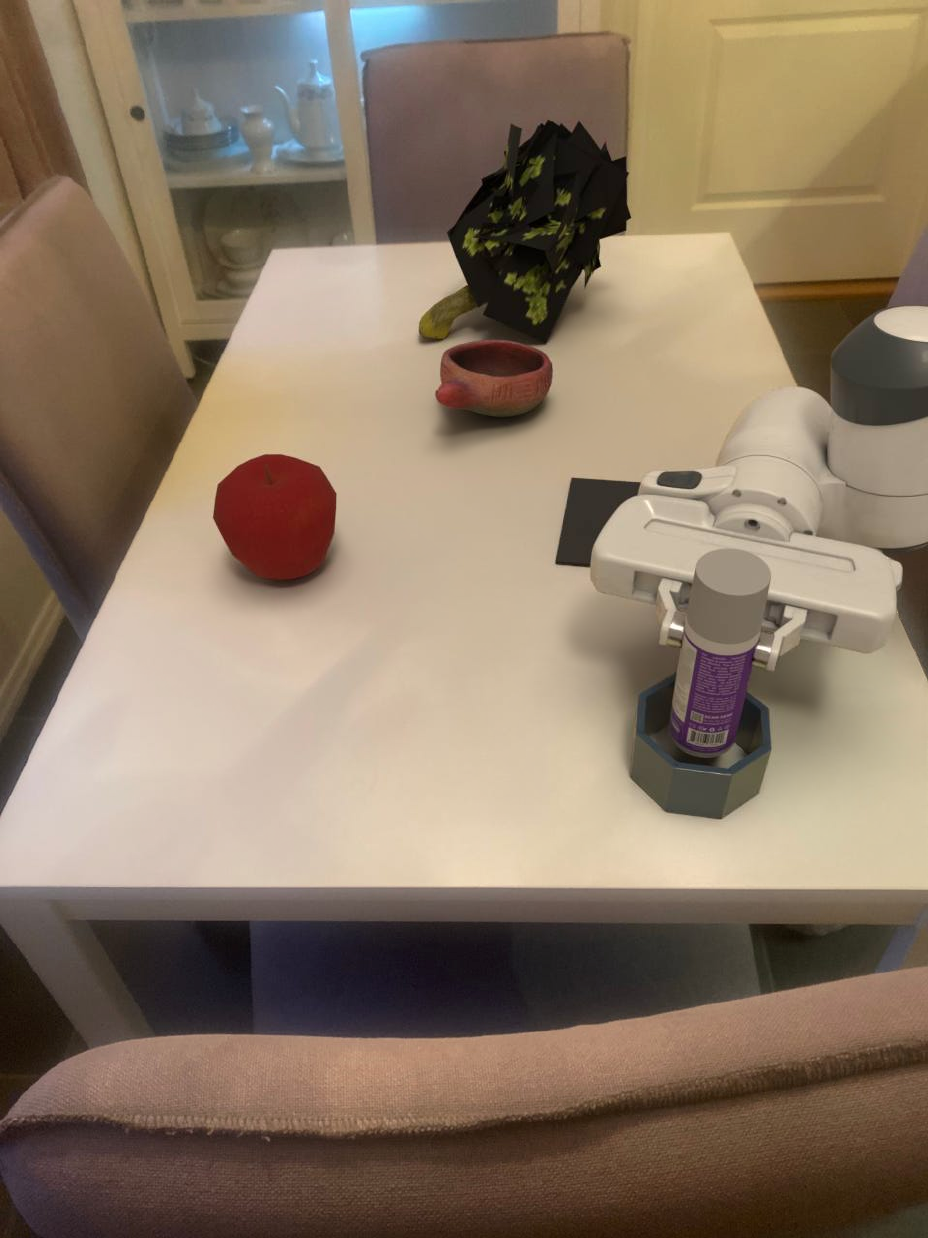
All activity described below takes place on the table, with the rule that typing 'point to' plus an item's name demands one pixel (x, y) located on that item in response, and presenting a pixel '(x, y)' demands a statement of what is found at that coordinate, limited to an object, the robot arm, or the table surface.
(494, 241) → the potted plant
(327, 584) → the table surface
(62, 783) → the table surface
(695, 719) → the container
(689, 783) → the octagonal ring
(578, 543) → the mat
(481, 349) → the bowl
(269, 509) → the apple
